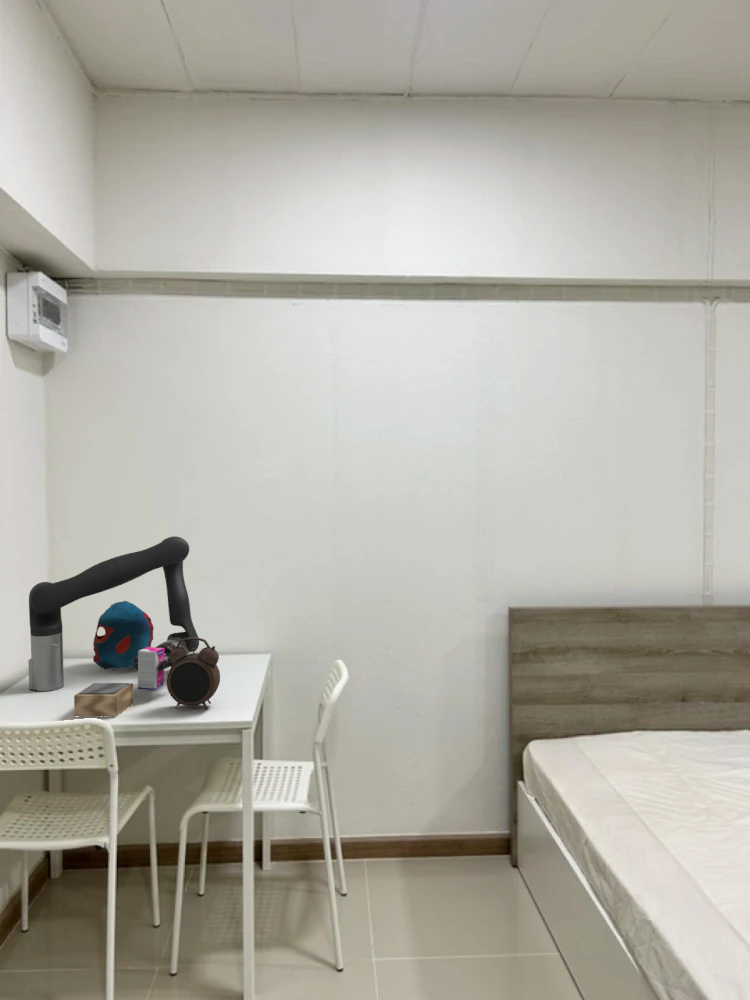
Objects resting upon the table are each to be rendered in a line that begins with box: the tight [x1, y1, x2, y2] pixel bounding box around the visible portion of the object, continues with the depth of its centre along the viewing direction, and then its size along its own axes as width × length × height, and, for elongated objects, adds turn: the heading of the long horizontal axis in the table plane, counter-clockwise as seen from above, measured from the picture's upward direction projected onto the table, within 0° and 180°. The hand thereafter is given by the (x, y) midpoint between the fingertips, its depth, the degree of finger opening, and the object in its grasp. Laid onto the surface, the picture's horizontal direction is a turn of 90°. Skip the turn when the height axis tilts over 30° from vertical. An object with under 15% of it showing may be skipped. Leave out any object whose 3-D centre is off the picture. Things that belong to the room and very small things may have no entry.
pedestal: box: [73, 682, 135, 718], centre depth 208 cm, size 12×12×6 cm
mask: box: [92, 600, 155, 671], centre depth 255 cm, size 18×20×25 cm
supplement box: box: [137, 646, 165, 691], centre depth 218 cm, size 6×6×12 cm
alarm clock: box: [166, 637, 221, 710], centre depth 209 cm, size 14×7×20 cm, turn 87°
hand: (148, 667), depth 216 cm, fingers closed on supplement box, 6 cm apart
